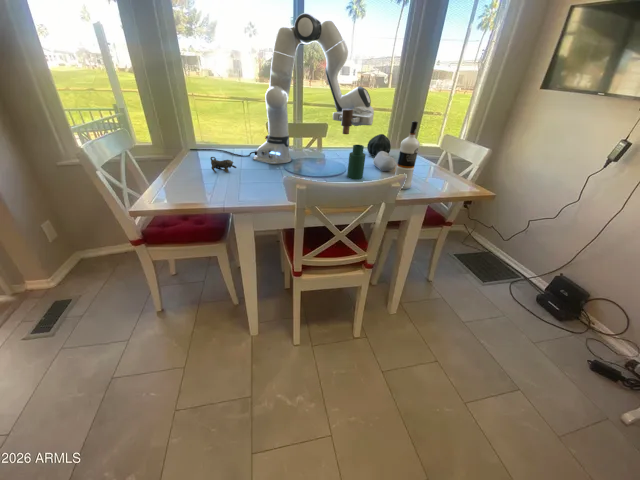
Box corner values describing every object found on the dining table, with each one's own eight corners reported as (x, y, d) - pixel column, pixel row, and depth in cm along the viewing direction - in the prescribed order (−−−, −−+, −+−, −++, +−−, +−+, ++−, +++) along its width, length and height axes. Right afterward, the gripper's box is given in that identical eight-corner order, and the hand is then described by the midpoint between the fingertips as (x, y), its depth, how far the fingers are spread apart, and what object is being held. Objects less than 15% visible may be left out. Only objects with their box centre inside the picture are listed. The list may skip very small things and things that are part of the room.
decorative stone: (369, 159, 163) (380, 145, 158) (380, 168, 167) (392, 155, 163) (377, 170, 149) (390, 156, 145) (389, 180, 153) (402, 166, 149)
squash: (375, 142, 188) (372, 127, 175) (395, 147, 181) (393, 132, 168) (366, 159, 186) (361, 145, 173) (386, 165, 179) (383, 150, 166)
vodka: (400, 182, 140) (413, 119, 124) (414, 188, 133) (430, 122, 117) (387, 184, 135) (399, 120, 119) (401, 191, 129) (416, 123, 113)
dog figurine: (210, 173, 138) (208, 158, 134) (213, 169, 143) (211, 155, 139) (235, 173, 139) (233, 158, 135) (237, 169, 144) (235, 155, 140)
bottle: (345, 178, 141) (348, 146, 132) (348, 173, 147) (352, 143, 138) (360, 180, 139) (365, 148, 130) (363, 175, 145) (367, 145, 137)
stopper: (339, 134, 133) (341, 109, 127) (341, 132, 138) (343, 108, 132) (349, 135, 132) (352, 110, 126) (351, 133, 136) (354, 109, 130)
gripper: (339, 107, 143) (327, 110, 133) (376, 112, 135) (366, 115, 125) (338, 120, 147) (326, 124, 136) (374, 125, 139) (364, 129, 128)
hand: (346, 119), depth 131 cm, fingers closed on stopper, 5 cm apart
